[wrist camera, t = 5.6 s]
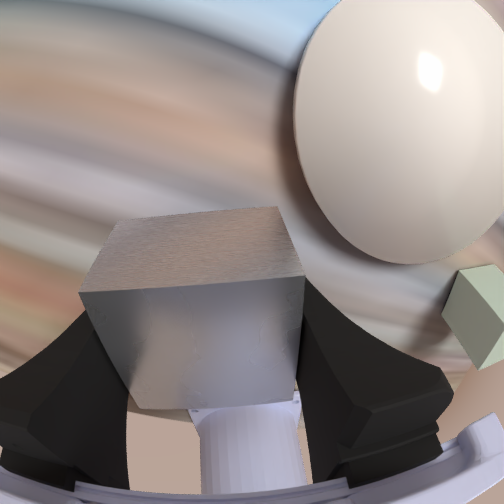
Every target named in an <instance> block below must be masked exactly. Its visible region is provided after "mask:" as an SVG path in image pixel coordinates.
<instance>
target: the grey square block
mask: <svg viewBox="0 0 504 504" xmlns="http://www.w3.org/2000/svg"><path fill="white" fill-rule="evenodd" d="M305 276H306V275H305V273H304V270H303V268H302V265H301V263H300V260H299V258H298V255H297V253H296V250H295V248H294V245H293V243H292V240H291V238H290V236H289V233H288V231H287V228H286V226H285V224H284V221H283V219H282V216H281V214H280V212H279V209H278V207H277V206H275V207H261V208H247V209H234V210H222V211H210V212H199V213H188V214H178V215H168V216H159V217H149V218H140V219H132V220H123V221H118V222H117V224H116V226H115V227H114V229H113V230H112V232H111V234H110V235H109V237H108V239H107V241H106V242H105V244H104V246H103V247H102V249H101V251H100V253H99V254H98V256H97V258H96V260H95V261H94V263H93V265H92V267H91V269H90V271H89V272H88V274H87V276H86V278H85V280H84V282H83V284H82V286H81V288H80V289H79V291H78V293H79V296H80V298H81V300H82V302H83V305H84V307H85V309H86V311H87V313H88V316H89V318H90V320H91V322H92V324H93V326H94V328H95V330H96V332H97V334H98V336H99V338H100V340H101V342H102V344H103V346H104V348H105V350H106V352H107V354H108V356H109V357H110V359H111V361H112V363H113V365H114V367H115V368H116V370H117V372H118V374H119V375H120V377H121V379H122V381H123V382H124V384H125V386H126V387H127V389H128V391H129V392H130V394H131V396H132V397H133V399H134V400H135V402H136V404H137V405H138V407H139V408H140V409H207V408H226V407H239V406H251V405H261V404H270V403H278V402H286V401H293V396H294V388H295V380H296V371H297V362H298V353H299V344H300V334H301V323H302V312H303V301H304V289H305Z"/></svg>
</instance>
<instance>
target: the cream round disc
mask: <svg viewBox="0 0 504 504" xmlns="http://www.w3.org/2000/svg"><path fill="white" fill-rule="evenodd" d="M293 128H294V139H295V144H296V149H297V154H298V160H299V163H300V166H301V169H302V172H303V175H304V178H305V181H306V183H307V185H308V187H309V189H310V191H311V193H312V195H313V197H314V199H315V201H316V202H317V204H318V205H319V207H320V208H321V210H322V211H323V213H324V214H325V216H326V217H327V219H328V220H329V222H330V223H331V224H332V225H333V226H334V227H335V228H336V230H337V231H338V232H339V233H340V234H341V235H342V236H343V237H344V238H345V239H347V240H348V241H349V242H350V243H351V244H352V245H353V246H355V247H357V248H358V249H360V250H362V251H363V252H365V253H366V254H368V255H371V256H373V257H376V258H378V259H380V260H384V261H388V262H392V263H398V264H423V263H428V262H433V261H437V260H440V259H443V258H446V257H449V256H451V255H453V254H455V253H457V252H459V251H461V250H462V249H464V248H465V247H467V246H469V245H470V244H472V243H473V242H474V241H475V240H477V239H478V238H479V237H480V236H482V235H483V234H484V233H485V232H486V231H487V230H488V229H489V228H490V227H491V226H492V225H493V223H494V222H495V221H496V220H497V219H498V217H499V216H500V215H501V213H502V212H503V210H504V32H503V31H502V29H501V28H500V27H499V25H498V24H497V23H496V22H495V21H494V19H493V18H492V17H491V16H490V15H489V14H488V13H487V12H486V11H485V10H484V9H483V8H482V7H481V6H480V5H479V4H478V3H476V2H475V1H474V0H340V1H339V2H338V3H337V4H336V5H335V6H334V7H333V8H332V9H330V10H329V11H328V12H327V14H326V15H325V16H324V18H323V19H322V20H321V22H320V23H319V24H318V26H317V27H316V28H315V30H314V32H313V34H312V36H311V38H310V40H309V42H308V44H307V45H306V47H305V50H304V53H303V56H302V59H301V62H300V65H299V68H298V73H297V78H296V83H295V88H294V99H293Z"/></svg>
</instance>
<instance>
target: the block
mask: <svg viewBox="0 0 504 504" xmlns="http://www.w3.org/2000/svg"><path fill="white" fill-rule="evenodd" d="M441 315H442V317H443V318H444V320H445V321H446V323H447V324H448V325H449V327H450V328H451V330H452V331H453V333H454V334H455V336H456V337H457V339H458V340H459V342H460V343H461V345H462V346H463V348H464V349H465V351H466V352H467V354H468V356H469V357H470V359H471V360H472V362H473V364H474V365H475V367H476V368H477V370H481V369H483V368H485V367H487V366H490V365H492V364H494V363H496V362H498V361H500V360H502V359H504V274H503V273H502V272H501V271H500V270H499V269H498V268H497V267H496V266H495V265H494V264H492V265H487V266H481V267H476V268H470V269H464V270H459V272H458V275H457V277H456V280H455V282H454V285H453V288H452V290H451V293H450V295H449V298H448V300H447V302H446V305H445V307H444V310H443V312H442V314H441Z"/></svg>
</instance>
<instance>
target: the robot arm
mask: <svg viewBox="0 0 504 504" xmlns="http://www.w3.org/2000/svg"><path fill="white" fill-rule="evenodd" d="M296 381H297V385H298V389H299V391H294V396H293V401H286V402H278V403H270V404H261V405H251V406H239V407H226V408H207V409H187V410H188V412H189V414H190V417H191V419H192V421H193V424H194V426H195V428H196V430H197V432H198V434H199V437H200V454H201V455H200V459H201V492H202V495H194V494H192V495H191V494H165V493H152V492H141V491H132V490H130V487H129V479H128V469H127V452H126V419H127V403H128V394H129V391H128V389H127V387H126V386H125V384H124V382H123V381H122V379H121V377H120V375H119V374H118V372H117V370H116V368H115V367H114V365H113V363H112V361H111V359H110V357H109V356H108V354H107V352H106V350H105V348H104V346H103V344H102V342H101V340H100V338H99V336H98V334H97V332H96V330H95V328H94V326H93V324H92V322H91V320H90V318H89V316H88V313H87V311H86V310H85V311H84V312H83V313H82V314H81V315H80V316H79V317H78V318H77V319H76V320H75V321H74V322H73V323H72V324H71V325H70V326H69V327H68V328H67V329H66V330H65V331H64V332H63V333H62V334H61V335H60V336H59V337H58V338H57V339H56V340H54V341H53V342H52V343H51V344H50V345H49V346H47V347H46V348H45V349H44V350H42V351H41V352H40V353H38V354H37V355H36V356H34V357H33V358H32V359H30V360H29V361H28V362H26V363H25V364H23V365H22V366H20V367H19V368H17V369H16V370H14V371H12V372H11V373H9V374H8V375H6V376H4V377H2V378H0V446H2V447H3V449H2V453H1V457H0V504H466V503H467V502H468V501H470V500H472V499H474V498H475V497H477V496H478V495H480V494H481V493H483V492H484V491H486V490H487V489H489V488H490V487H492V486H493V485H495V484H496V483H497V482H499V481H500V480H502V479H503V478H504V430H503V428H502V426H501V424H500V422H499V420H498V418H497V416H496V414H495V412H492V413H490V414H488V415H487V416H485V417H483V418H481V419H479V420H477V421H475V422H473V423H472V424H470V425H469V426H467V427H466V428H464V429H463V430H462V431H461V432H460V433H459V434H458V436H457V437H455V438H454V439H451V440H449V441H447V442H445V443H442V444H440V442H439V440H438V437H437V435H436V433H437V432H438V431H439V427H438V425H437V422H436V420H437V419H438V418H439V416H440V415H441V414H442V413H443V412H444V411H445V409H446V408H447V407H448V406H449V404H450V403H451V401H452V398H453V395H454V392H453V390H452V388H451V386H450V384H449V382H448V380H447V378H446V377H445V375H444V373H443V372H442V370H441V369H440V368H439V367H437V366H434V365H432V364H429V363H426V362H424V361H421V360H419V359H416V358H414V357H411V356H409V355H407V354H405V353H403V352H401V351H399V350H397V349H395V348H393V347H391V346H389V345H387V344H386V343H384V342H382V341H381V340H379V339H377V338H376V337H374V336H372V335H371V334H369V333H368V332H366V331H365V330H363V329H362V328H361V327H359V326H358V325H356V324H355V323H354V322H352V321H351V320H350V319H348V318H347V317H346V316H345V315H344V314H342V313H341V312H340V311H339V310H338V309H337V308H336V307H334V306H333V305H332V304H331V303H330V302H329V301H328V300H327V299H326V298H325V297H324V296H323V295H322V294H321V293H320V292H319V291H318V290H317V289H316V288H315V287H314V286H313V285H312V284H311V283H310V282H309V280H308V279H307V278H306V277H305V289H304V301H303V312H302V323H301V334H300V344H299V353H298V362H297V371H296ZM301 406H302V410H303V416H304V422H305V428H306V434H307V441H308V448H309V454H310V462H311V469H312V479H313V484H310V485H308V484H307V479H306V474H305V469H304V464H303V460H302V454H301V449H300V444H299V440H298V435H297V426H298V422H299V417H300V412H301Z"/></svg>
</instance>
